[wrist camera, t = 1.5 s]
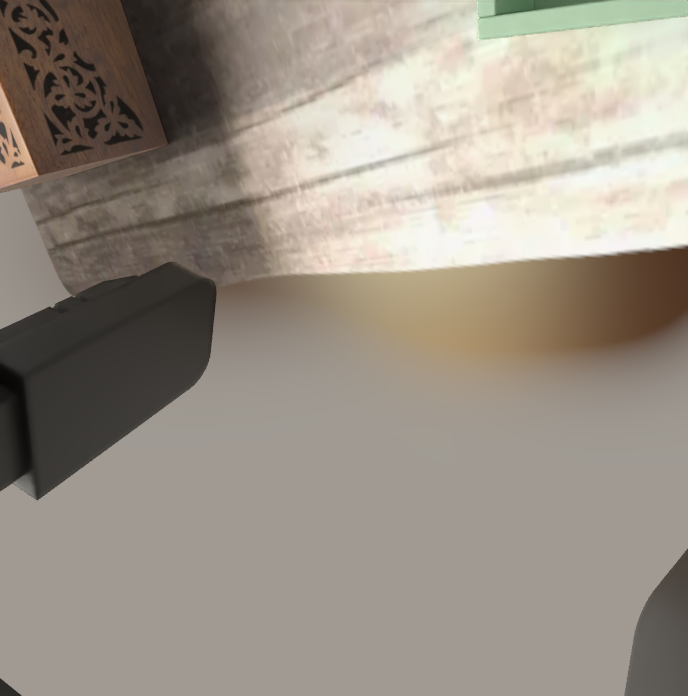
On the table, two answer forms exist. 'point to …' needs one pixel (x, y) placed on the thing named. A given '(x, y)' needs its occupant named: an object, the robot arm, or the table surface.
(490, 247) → the table surface
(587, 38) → the table surface
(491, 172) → the table surface
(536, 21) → the box
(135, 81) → the tissue box cover
